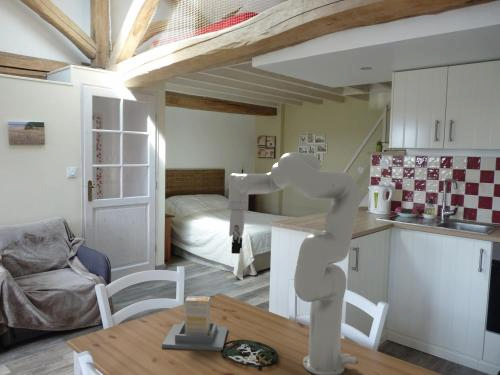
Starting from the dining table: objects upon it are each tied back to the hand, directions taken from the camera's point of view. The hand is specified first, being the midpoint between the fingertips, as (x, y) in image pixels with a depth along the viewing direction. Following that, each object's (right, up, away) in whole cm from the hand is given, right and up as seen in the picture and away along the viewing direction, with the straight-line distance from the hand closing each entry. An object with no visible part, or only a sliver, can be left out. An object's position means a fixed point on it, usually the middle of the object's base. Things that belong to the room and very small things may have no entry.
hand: (236, 250), depth 153 cm
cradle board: (-14, -29, -13) cm, 34 cm away
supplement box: (-13, -28, -13) cm, 33 cm away
